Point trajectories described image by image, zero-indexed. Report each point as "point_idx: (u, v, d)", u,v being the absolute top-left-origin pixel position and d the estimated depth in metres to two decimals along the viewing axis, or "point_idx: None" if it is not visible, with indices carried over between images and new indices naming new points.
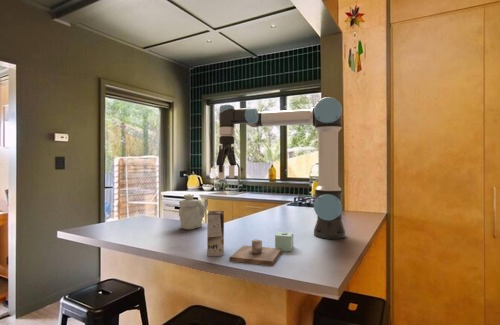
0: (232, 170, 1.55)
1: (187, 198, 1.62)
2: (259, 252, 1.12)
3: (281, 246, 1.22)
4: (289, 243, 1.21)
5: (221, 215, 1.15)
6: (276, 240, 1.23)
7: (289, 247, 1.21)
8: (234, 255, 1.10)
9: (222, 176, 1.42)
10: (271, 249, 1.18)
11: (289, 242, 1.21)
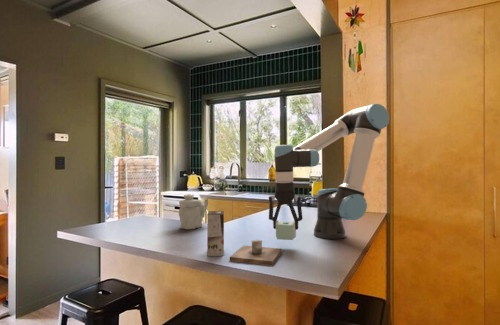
0: (293, 228, 1.24)
1: (187, 198, 1.62)
2: (259, 252, 1.12)
3: (283, 235, 1.22)
4: (290, 232, 1.21)
5: (221, 215, 1.15)
6: (277, 229, 1.23)
7: (291, 236, 1.21)
8: (234, 255, 1.10)
9: None
10: (271, 249, 1.18)
11: (290, 231, 1.21)
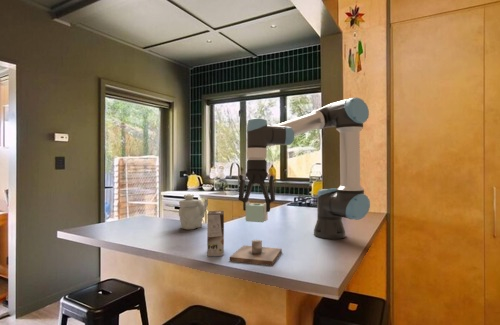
0: None
1: (187, 198, 1.62)
2: (259, 252, 1.12)
3: (252, 217, 1.11)
4: (261, 213, 1.10)
5: (221, 215, 1.15)
6: (247, 210, 1.12)
7: (261, 218, 1.10)
8: (234, 255, 1.10)
9: None
10: (271, 249, 1.18)
11: (261, 212, 1.10)
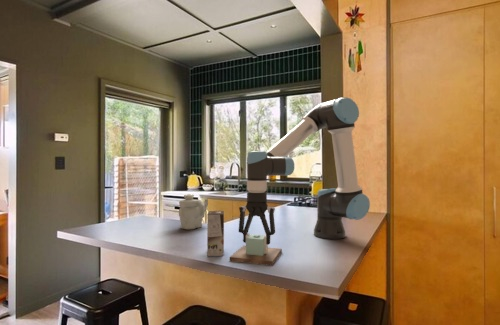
0: None
1: (187, 198, 1.62)
2: None
3: (252, 250, 1.11)
4: (261, 247, 1.10)
5: (221, 215, 1.15)
6: (247, 243, 1.11)
7: (261, 251, 1.10)
8: (234, 255, 1.10)
9: None
10: (271, 249, 1.18)
11: (261, 246, 1.10)
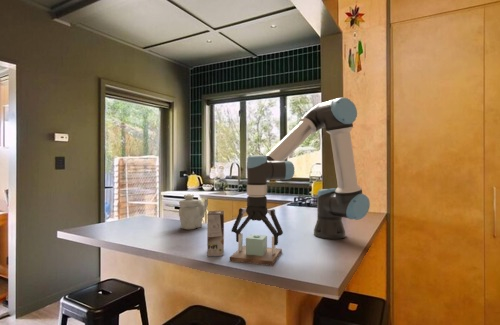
0: None
1: (187, 198, 1.62)
2: None
3: (252, 250, 1.11)
4: (261, 247, 1.10)
5: (221, 215, 1.15)
6: (247, 244, 1.11)
7: (261, 251, 1.10)
8: (234, 255, 1.10)
9: None
10: (271, 249, 1.18)
11: (261, 246, 1.10)
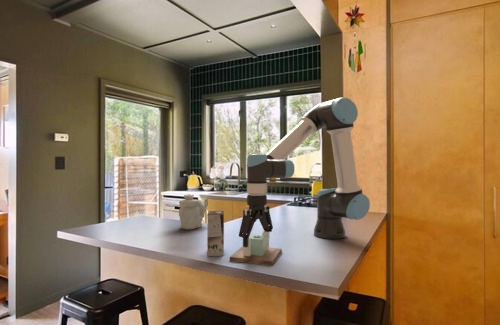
0: None
1: (187, 198, 1.62)
2: None
3: (252, 250, 1.11)
4: (261, 247, 1.10)
5: (221, 215, 1.15)
6: None
7: (261, 251, 1.10)
8: (234, 255, 1.10)
9: (247, 252, 1.08)
10: (271, 249, 1.18)
11: (261, 246, 1.10)
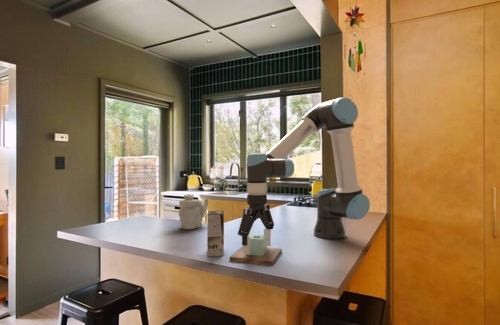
0: (267, 236, 1.19)
1: (187, 198, 1.62)
2: None
3: (252, 250, 1.11)
4: (261, 247, 1.10)
5: (221, 215, 1.15)
6: None
7: (261, 251, 1.10)
8: (234, 255, 1.10)
9: (247, 250, 1.08)
10: (271, 249, 1.18)
11: (261, 246, 1.10)
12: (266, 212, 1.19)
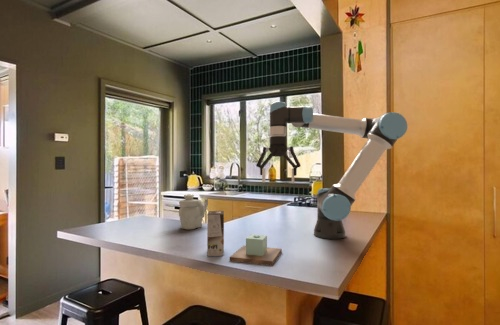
0: None
1: (187, 198, 1.62)
2: None
3: (252, 250, 1.11)
4: (261, 247, 1.10)
5: (221, 215, 1.15)
6: (247, 244, 1.11)
7: (261, 251, 1.10)
8: (234, 255, 1.10)
9: None
10: (271, 249, 1.18)
11: (261, 246, 1.10)
12: (291, 153, 1.35)
